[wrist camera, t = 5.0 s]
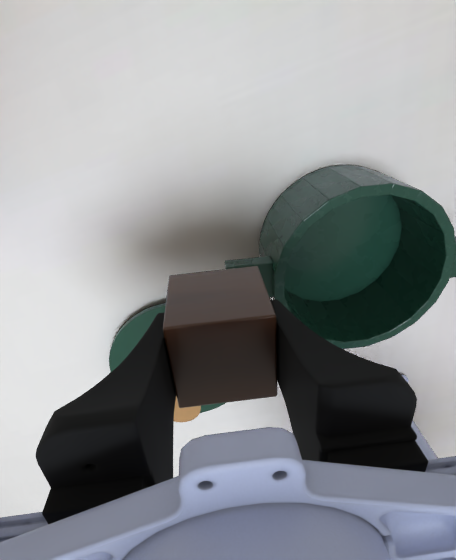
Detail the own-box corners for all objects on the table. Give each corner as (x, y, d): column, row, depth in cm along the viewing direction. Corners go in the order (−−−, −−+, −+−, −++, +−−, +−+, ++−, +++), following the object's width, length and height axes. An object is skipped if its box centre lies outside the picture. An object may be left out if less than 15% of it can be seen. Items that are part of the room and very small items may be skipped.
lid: (255, 397, 32) (266, 452, 27) (128, 412, 32) (116, 471, 27) (249, 288, 27) (262, 333, 22) (95, 305, 26) (73, 355, 21)
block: (260, 336, 18) (277, 397, 14) (181, 345, 18) (178, 409, 14) (258, 265, 16) (277, 315, 12) (168, 274, 16) (162, 328, 12)
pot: (425, 293, 28) (472, 334, 24) (227, 315, 28) (234, 362, 23) (458, 153, 23) (527, 170, 18) (214, 176, 22) (221, 200, 18)
